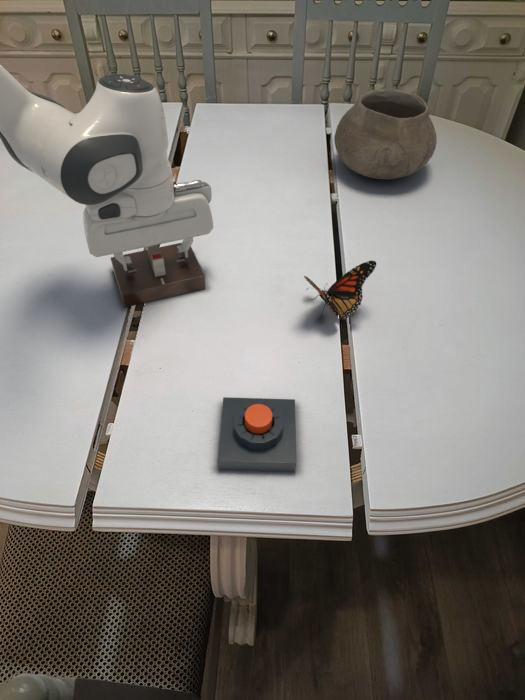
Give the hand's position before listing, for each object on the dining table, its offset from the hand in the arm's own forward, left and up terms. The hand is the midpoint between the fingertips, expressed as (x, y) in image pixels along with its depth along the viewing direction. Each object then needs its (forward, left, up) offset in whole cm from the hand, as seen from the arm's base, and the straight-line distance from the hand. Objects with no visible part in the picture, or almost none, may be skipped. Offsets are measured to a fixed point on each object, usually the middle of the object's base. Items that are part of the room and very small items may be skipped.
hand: (155, 262), depth 90 cm
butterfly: (+25, -17, -4) cm, 31 cm away
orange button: (+5, -36, 0) cm, 36 cm away
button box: (+5, -36, -4) cm, 37 cm away
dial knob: (0, 0, -1) cm, 1 cm away
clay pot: (+55, +20, -4) cm, 59 cm away
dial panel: (0, 0, -4) cm, 4 cm away
